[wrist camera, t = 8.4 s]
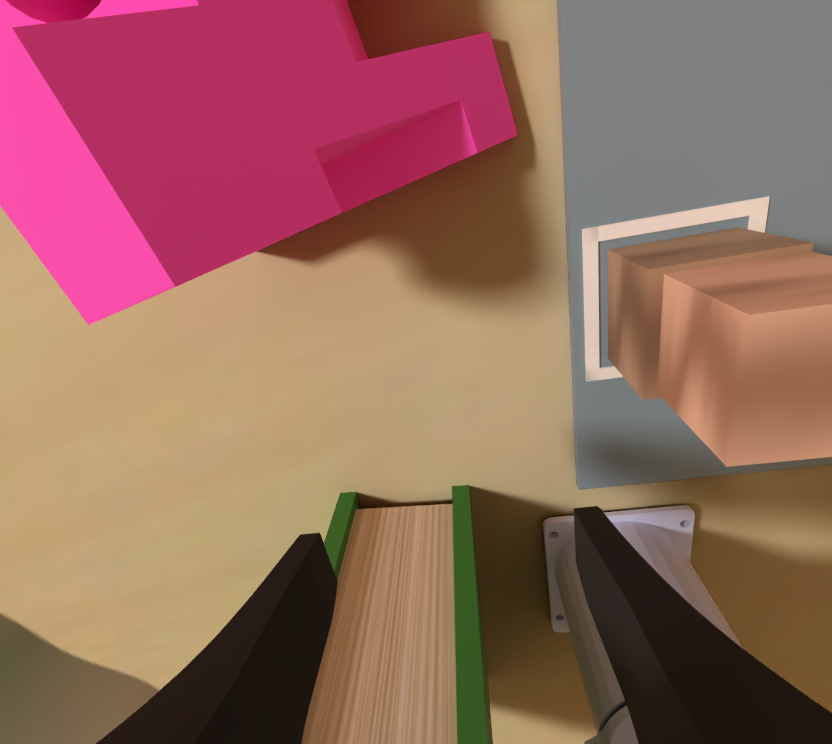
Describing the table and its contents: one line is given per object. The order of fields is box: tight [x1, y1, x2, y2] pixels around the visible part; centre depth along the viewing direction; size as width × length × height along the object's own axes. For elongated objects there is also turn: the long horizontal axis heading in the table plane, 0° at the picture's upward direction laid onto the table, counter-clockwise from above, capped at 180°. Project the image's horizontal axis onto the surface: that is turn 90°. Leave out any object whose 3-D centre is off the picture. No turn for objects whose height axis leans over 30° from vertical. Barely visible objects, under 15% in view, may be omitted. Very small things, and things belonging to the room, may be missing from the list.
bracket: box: [0, 0, 518, 325], centre depth 12 cm, size 12×10×10 cm
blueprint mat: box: [557, 0, 832, 490], centre depth 18 cm, size 22×20×1 cm
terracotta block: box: [657, 252, 832, 467], centre depth 13 cm, size 4×4×4 cm
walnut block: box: [608, 227, 814, 400], centre depth 17 cm, size 5×5×4 cm
